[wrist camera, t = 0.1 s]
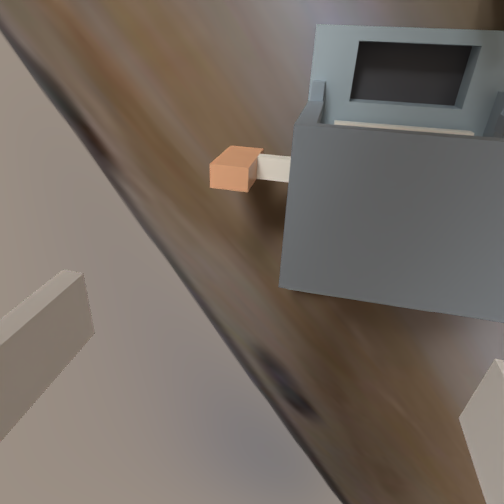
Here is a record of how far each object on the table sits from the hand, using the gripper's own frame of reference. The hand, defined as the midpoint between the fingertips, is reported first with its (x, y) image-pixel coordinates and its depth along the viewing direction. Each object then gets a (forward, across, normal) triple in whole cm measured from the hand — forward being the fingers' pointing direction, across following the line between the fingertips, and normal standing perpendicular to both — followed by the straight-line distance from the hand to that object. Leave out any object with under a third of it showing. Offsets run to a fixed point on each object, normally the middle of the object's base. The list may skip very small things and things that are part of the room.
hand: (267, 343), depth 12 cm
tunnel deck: (+28, +7, -2) cm, 29 cm away
